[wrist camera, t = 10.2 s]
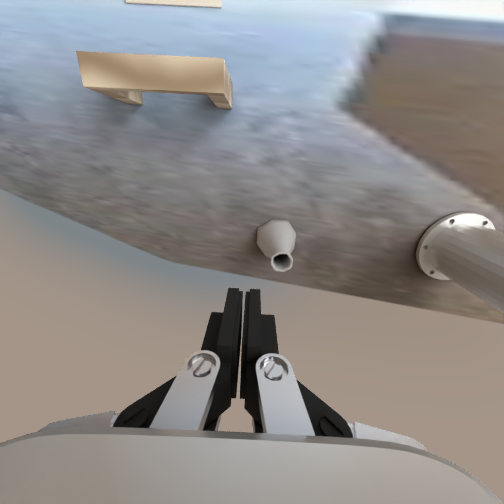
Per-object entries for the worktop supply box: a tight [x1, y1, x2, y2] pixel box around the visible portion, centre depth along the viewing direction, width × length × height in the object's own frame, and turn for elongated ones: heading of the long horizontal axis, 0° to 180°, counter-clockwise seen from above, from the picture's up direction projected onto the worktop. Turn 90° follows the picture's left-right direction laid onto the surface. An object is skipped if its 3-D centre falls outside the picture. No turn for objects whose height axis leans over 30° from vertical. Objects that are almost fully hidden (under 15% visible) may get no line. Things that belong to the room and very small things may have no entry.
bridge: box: [76, 51, 232, 109], centre depth 29 cm, size 3×15×10 cm, turn 88°
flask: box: [257, 219, 296, 272], centre depth 37 cm, size 7×7×10 cm
